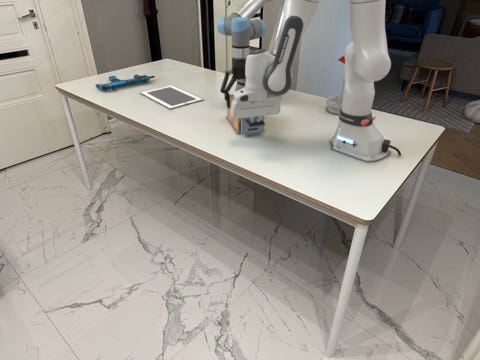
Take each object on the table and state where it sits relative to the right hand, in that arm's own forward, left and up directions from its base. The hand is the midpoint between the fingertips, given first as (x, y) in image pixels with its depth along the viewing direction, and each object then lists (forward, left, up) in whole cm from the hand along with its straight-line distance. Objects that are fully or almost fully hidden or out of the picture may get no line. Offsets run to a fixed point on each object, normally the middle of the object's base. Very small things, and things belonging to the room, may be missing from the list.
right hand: (255, 125), depth 140 cm
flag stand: (0, -54, -6) cm, 54 cm away
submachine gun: (+107, +17, -6) cm, 109 cm away
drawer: (+9, -3, -5) cm, 11 cm away
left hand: (+21, -7, +1) cm, 22 cm away
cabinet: (+15, -5, -6) cm, 17 cm away
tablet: (+68, +5, -6) cm, 69 cm away
